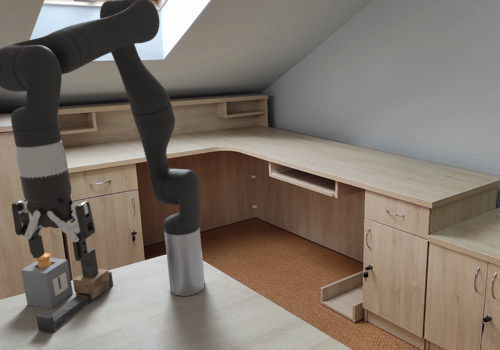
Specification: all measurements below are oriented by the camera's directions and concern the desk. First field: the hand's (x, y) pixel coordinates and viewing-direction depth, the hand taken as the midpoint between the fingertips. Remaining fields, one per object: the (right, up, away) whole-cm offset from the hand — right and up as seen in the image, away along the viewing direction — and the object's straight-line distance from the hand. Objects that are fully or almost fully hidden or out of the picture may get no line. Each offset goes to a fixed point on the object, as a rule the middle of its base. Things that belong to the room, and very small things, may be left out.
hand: (59, 257), depth 84 cm
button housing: (-20, -18, +43) cm, 51 cm away
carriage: (-8, -18, +44) cm, 48 cm away
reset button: (-20, -12, +41) cm, 47 cm away
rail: (-10, -19, +38) cm, 44 cm away
